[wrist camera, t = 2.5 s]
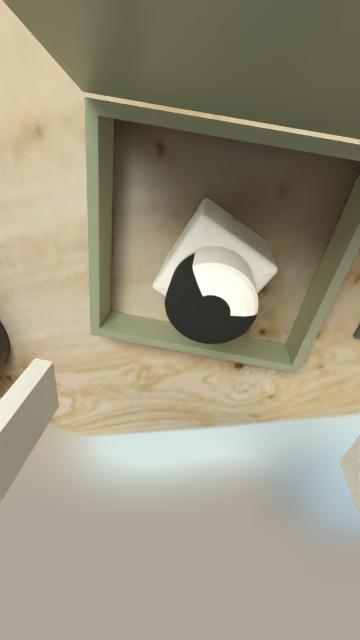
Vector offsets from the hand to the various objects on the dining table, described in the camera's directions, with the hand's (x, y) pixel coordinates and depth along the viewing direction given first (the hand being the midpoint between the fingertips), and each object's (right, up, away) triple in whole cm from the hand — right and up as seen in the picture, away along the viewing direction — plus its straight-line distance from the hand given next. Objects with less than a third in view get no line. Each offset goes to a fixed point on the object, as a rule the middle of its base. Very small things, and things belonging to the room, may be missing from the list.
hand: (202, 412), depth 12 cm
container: (+3, +11, +19) cm, 22 cm away
